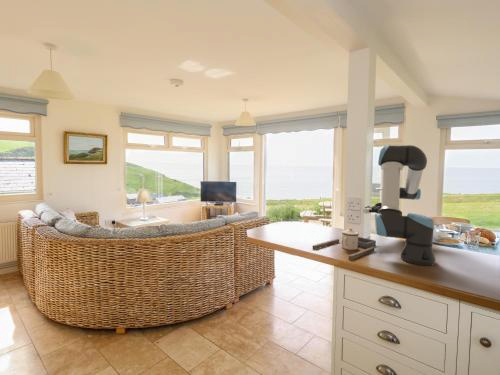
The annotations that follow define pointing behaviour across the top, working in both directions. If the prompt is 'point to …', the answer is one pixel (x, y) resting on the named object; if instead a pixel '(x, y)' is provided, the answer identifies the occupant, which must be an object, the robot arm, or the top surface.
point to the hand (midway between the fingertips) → (364, 211)
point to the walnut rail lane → (349, 255)
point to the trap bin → (366, 242)
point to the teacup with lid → (350, 239)
